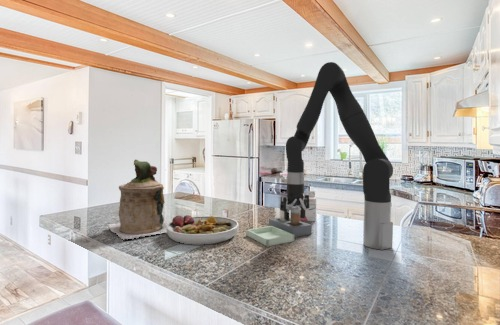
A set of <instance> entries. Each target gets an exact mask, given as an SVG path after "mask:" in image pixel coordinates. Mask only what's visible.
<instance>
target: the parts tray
mask: <svg viewBox="0 0 500 325" xmlns="http://www.w3.org/2000/svg"><path fill="white" fill-rule="evenodd" d="M245 235H246V237H249V239H252V240H255V241H256V242H258V243H260V244H262V245H264V246H265V247H266V248H268V247H271V246H277V245H282V244H287V243H291V242H295V238H296V237H295V235H294V234H291V233H289V232H286V231H284V230H281V229H279V228H276V227H274V226H269V225H268V226H261V227H255V228H249V229H246V234H245Z"/></svg>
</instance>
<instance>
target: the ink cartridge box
mask: <svg viewBox="0 0 500 325" xmlns="http://www.w3.org/2000/svg"><path fill="white" fill-rule="evenodd" d="M304 194H306V195H309V208H307V209H306V210H305V218H304V219H302V218H300V221H302V222H317V197H315V196H316V191H314V190H313V191H310V190H304V193H303V195H304ZM302 201H303V203H304V199H303V200H302ZM306 205H307V203H306ZM298 207H299V206H298ZM299 208H300V207H299ZM300 210H301V208H300Z"/></svg>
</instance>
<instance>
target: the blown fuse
mask: <svg viewBox="0 0 500 325" xmlns="http://www.w3.org/2000/svg"><path fill="white" fill-rule="evenodd" d="M290 218H291V223H290V225H293V226H297V225H300V208H299V206H293V207H292V208H291V209H290Z"/></svg>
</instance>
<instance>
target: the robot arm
mask: <svg viewBox="0 0 500 325" xmlns="http://www.w3.org/2000/svg"><path fill="white" fill-rule="evenodd" d="M313 85H314V86H313V88H312V92H311V94H310V97H309V99H308V101H307V104H306V105H305V108H304V110H303V112H302V114H301V116H300V117H299V120H298V122H297V124H296V131H295V133H294V135H292V136H290V137H288V138H287V140H286V143H285V153H286V159H287V160H286V161H287V166H286V167H287V171H286V172H287V173H286V193H287V194H286V196H281V197H280V204H279V211H280V210H282V211H284V219H285V220H286V221H289V218H290V212H291V208H292V207H300V208H301V210H300V218H302V219H304V218H305V210H306V209H307V208H309V195H306V194H307V193H305V194H304V195H303V193H304V191H305V171H304V170H305V169H304V168H305V162H304V160H303V154H302V153H303V151H304V150H305V148H306V147H307V144H308V143H309V140H310V136H311V134H312V132H313V131H314V128H315V127H316V125H317V122H318V121H319V118H320V116H321V113H322V110H323V109H322V108H323V106H324V102H325V99H326V97H327V96H328V93H329V94H330V95H331V97H332V99H333V101H334V103H335V105H336V109H337V113H338V117H339V120H340V123H341V125H342V127H343V128H344V130H345V133H346V134H347V136H348V137H349V139H350V141H352V143H353V144H354V145H355V146H356V148H358V150H359V151H360V154H361V155H362V158H363V159H364V162H365V164H364V166H363V170H362V193H363V195H364V196H363V197H364V199H363V200H364V202H363V203H364V204H363V205H364V207H363V208H364V210H363V245H364V246H365V247H367V248H371V249H376V250H381V251H383V250H388V249H391V248H393V237H394V236H393V234H394V232H393V231H394V224H393V221H391V218H392V217H391V214H392V213H391V212H392V211H391V209H392V208H391V206H392V195H391V194H392V193H391V192H390V191H391V190H390V189H391V188H390V179H391V178H392V176H393V173H394V166H393V164H392V162H391V161H390V160H389V158H388V157H387V155H386V153H385V151H384V150H383V149H382V148H381V145H380V144H379V142H378V140H377V138H376V135H375V132H374V130H373V128H372V126H371V123H370V121H369V119H368V117H367V115H366V113H365V110H363V108H362V106H361V105H360V102H358V100H357V99H356V97H355V95H354V94H353V92H352V90H351V88H350V84H349V83H348V80H347V76H346V74H345V71H344V70H343V69H342V67H341V66H340V65H339V64H338V63H337V62H334V61H328V62H326V63H324V64H323V65H322V66H321V67H320V69H319V71H318V73H317V77H316V79H315V82H314V84H313ZM303 199H304V203H303V201H302V200H303ZM306 203H307V205H306Z"/></svg>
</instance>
